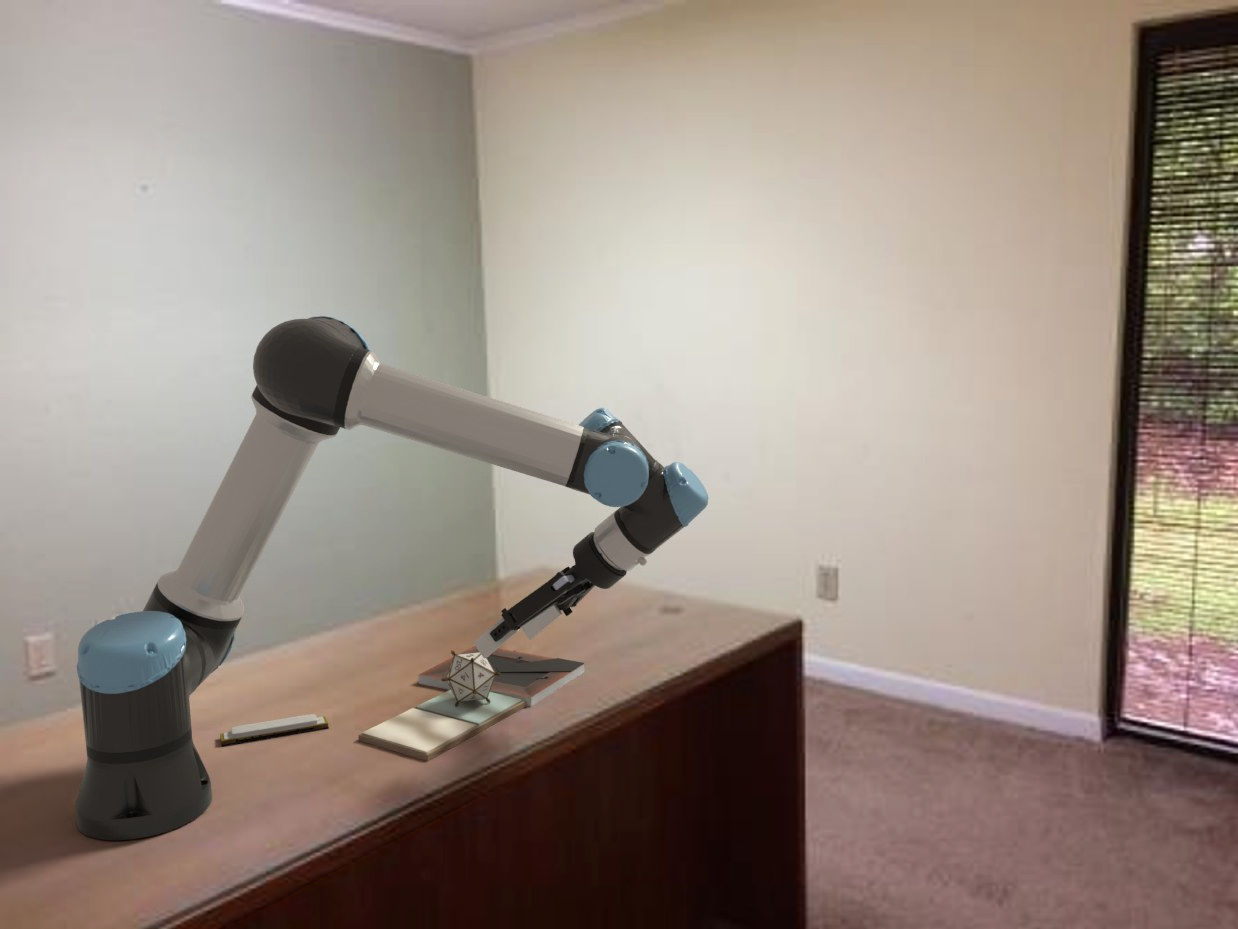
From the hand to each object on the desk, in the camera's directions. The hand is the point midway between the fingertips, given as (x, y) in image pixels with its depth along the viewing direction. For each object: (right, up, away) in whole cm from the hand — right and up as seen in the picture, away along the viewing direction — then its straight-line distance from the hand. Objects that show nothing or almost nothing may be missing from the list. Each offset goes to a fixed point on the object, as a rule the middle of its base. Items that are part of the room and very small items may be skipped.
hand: (503, 641), depth 147 cm
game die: (-6, -11, +10) cm, 16 cm away
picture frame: (-3, -11, +23) cm, 26 cm away
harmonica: (-33, -14, +2) cm, 36 cm away
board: (-9, -13, +5) cm, 17 cm away
